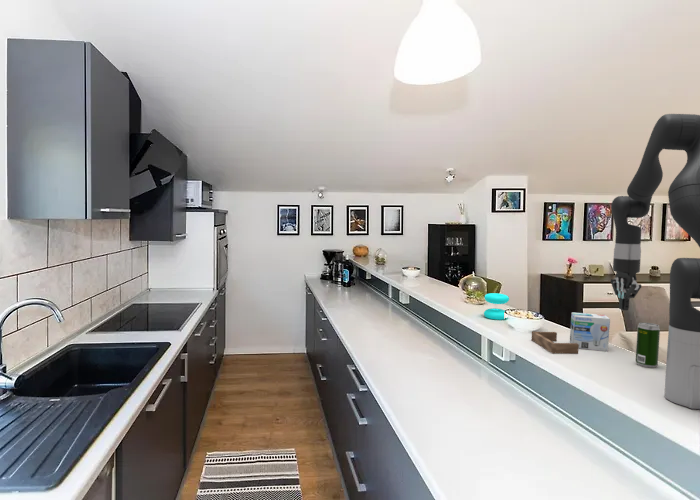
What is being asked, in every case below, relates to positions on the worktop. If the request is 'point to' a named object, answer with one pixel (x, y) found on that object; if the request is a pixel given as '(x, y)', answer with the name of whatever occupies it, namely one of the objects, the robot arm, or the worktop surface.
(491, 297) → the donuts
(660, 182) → the robot arm
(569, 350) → the wooden u-shaped bracket
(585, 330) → the light bulb box
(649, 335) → the green metal cylinder
